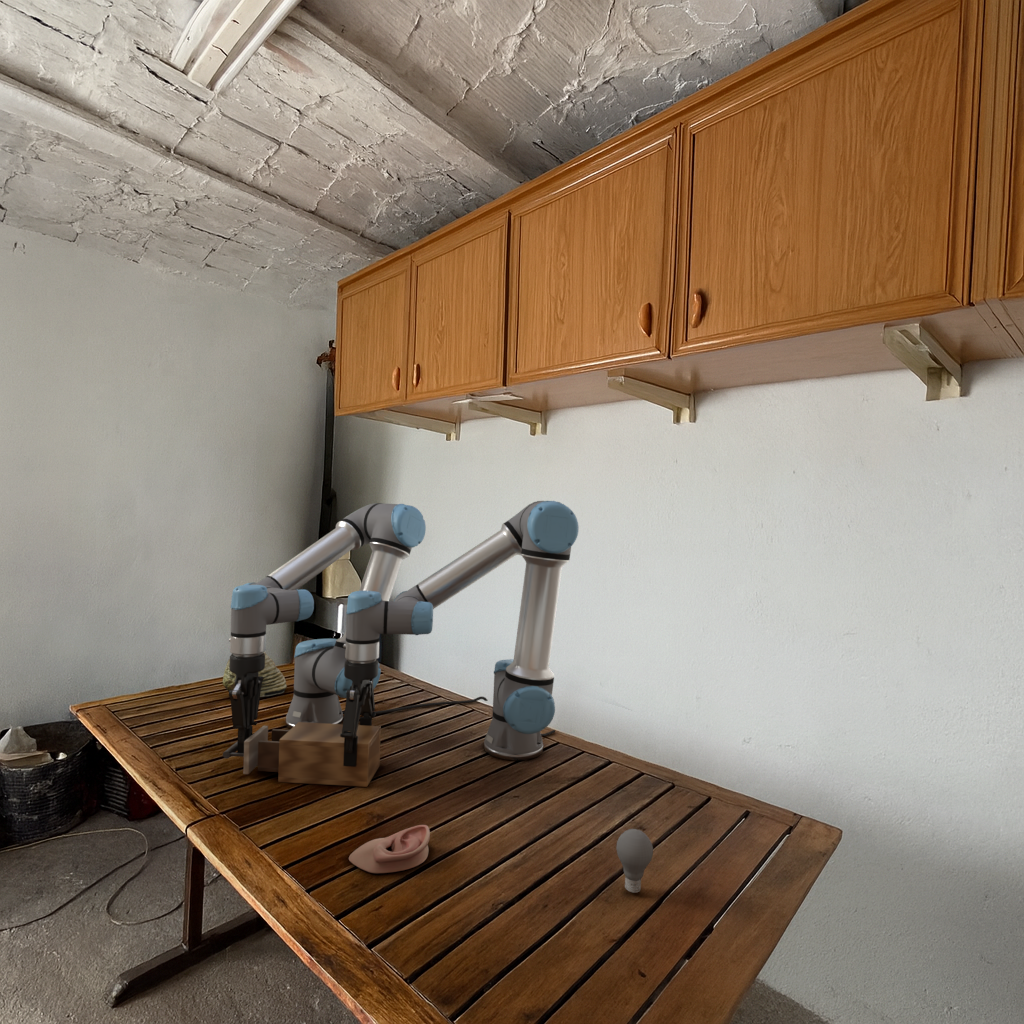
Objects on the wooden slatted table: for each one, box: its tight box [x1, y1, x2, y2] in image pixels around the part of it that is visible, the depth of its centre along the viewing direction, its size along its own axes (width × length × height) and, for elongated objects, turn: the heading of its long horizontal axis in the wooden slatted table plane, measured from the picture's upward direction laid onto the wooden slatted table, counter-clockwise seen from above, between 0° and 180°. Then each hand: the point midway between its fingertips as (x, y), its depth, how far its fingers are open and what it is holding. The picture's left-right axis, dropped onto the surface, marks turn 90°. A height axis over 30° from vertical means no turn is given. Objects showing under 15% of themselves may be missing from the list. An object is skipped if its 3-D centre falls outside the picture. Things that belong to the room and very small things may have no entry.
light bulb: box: [615, 828, 654, 894], centre depth 106 cm, size 6×6×10 cm
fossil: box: [222, 651, 288, 698], centre depth 198 cm, size 9×18×15 cm, turn 132°
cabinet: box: [277, 722, 382, 788], centre depth 145 cm, size 20×11×10 cm, turn 88°
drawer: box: [222, 725, 290, 775], centre depth 145 cm, size 24×10×7 cm, turn 88°
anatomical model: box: [348, 824, 431, 874], centre depth 113 cm, size 13×4×12 cm
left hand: (244, 755), depth 146 cm, fingers closed
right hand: (357, 755), depth 145 cm, fingers closed on cabinet, 11 cm apart
